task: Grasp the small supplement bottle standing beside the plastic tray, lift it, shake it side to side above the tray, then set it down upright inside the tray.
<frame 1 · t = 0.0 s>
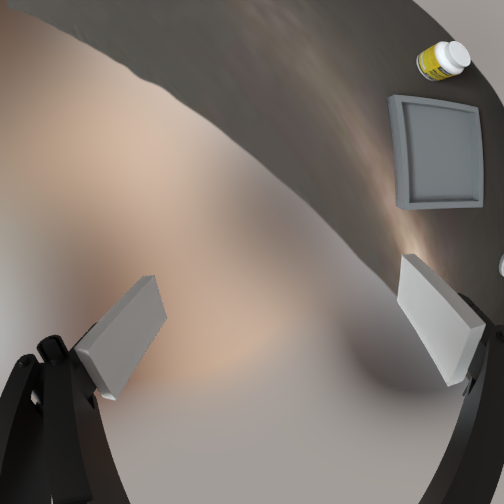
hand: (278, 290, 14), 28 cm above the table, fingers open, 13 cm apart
supplement bottle: (428, 67, 29), on the table
tray: (437, 153, 34), on the table
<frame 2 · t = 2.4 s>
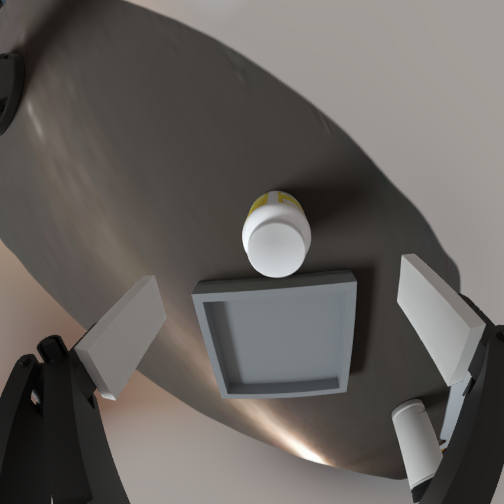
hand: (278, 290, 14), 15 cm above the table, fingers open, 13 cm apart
supplement bottle: (276, 216, 28), on the table
travel mug: (406, 407, 37), on the table
tray: (279, 337, 33), on the table
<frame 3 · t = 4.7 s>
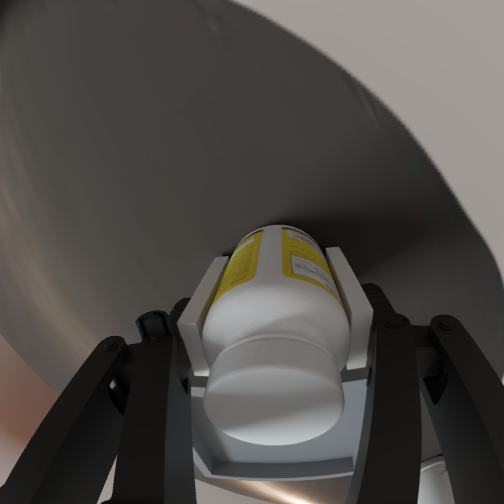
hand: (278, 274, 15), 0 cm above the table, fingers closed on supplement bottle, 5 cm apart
supplement bottle: (278, 267, 16), on the table, touching gripper
travel mug: (425, 464, 25), on the table
tray: (279, 422, 21), on the table
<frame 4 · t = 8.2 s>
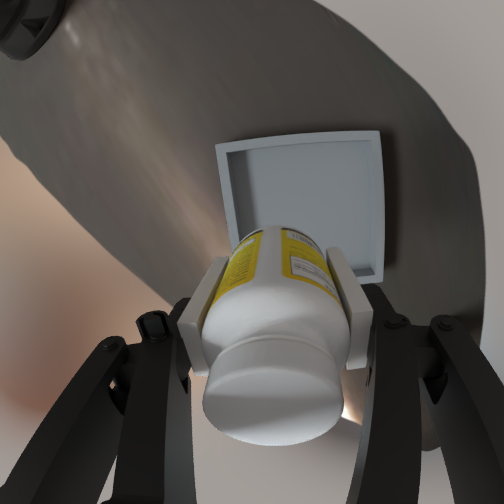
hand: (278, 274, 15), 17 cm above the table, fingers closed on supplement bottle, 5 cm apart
supplement bottle: (278, 268, 16), point 16 cm above the table, touching gripper
tray: (305, 210, 31), on the table
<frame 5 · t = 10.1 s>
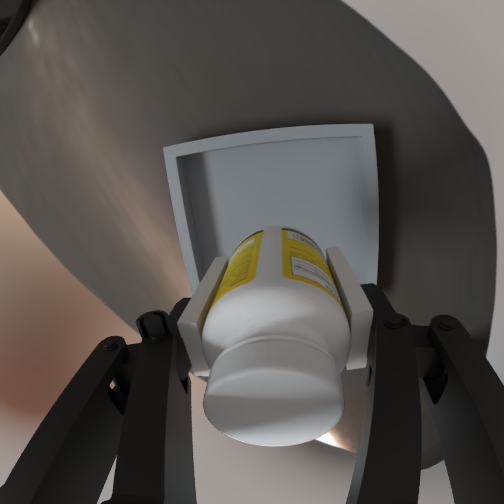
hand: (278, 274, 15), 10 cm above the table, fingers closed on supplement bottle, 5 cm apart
supplement bottle: (278, 268, 16), point 10 cm above the table, touching gripper
tray: (279, 225, 25), on the table
when the fingers open (3 cm above the table, at t = 11.7 s): supplement bottle drops 1 cm, resting on tray.
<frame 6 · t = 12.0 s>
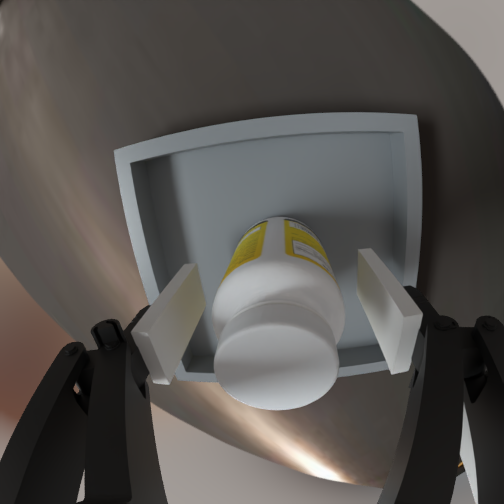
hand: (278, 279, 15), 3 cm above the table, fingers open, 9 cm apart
supplement bottle: (280, 257, 17), point 1 cm above the table, touching tray
travel mug: (462, 396, 22), on the table
tray: (279, 256, 18), on the table
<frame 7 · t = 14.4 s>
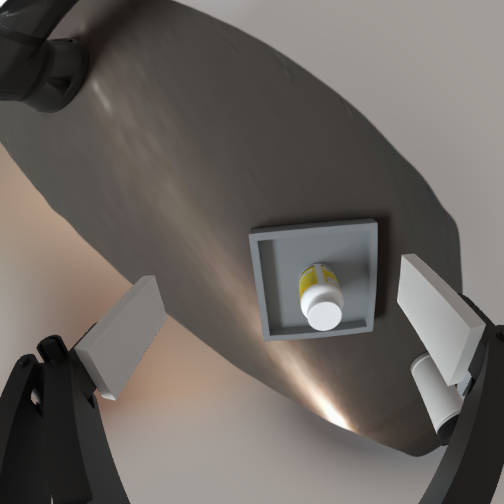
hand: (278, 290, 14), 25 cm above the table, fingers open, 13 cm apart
supplement bottle: (317, 279, 39), point 1 cm above the table, touching tray
travel mug: (423, 361, 43), on the table
tray: (316, 279, 40), on the table
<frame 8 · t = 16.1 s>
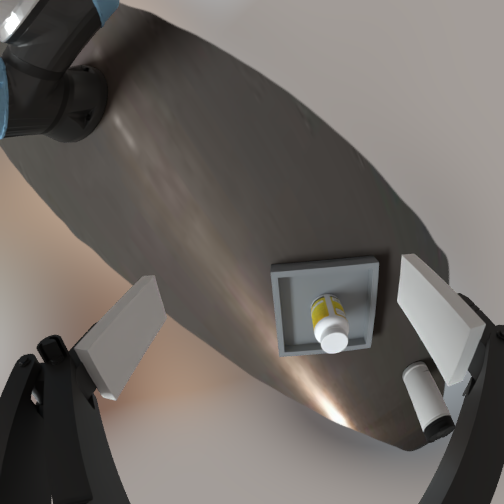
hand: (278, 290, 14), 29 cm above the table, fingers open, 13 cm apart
supplement bottle: (325, 306, 45), point 1 cm above the table, touching tray
travel mug: (413, 369, 50), on the table
tray: (324, 305, 46), on the table
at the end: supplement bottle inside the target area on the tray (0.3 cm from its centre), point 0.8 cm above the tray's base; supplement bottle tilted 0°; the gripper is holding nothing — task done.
